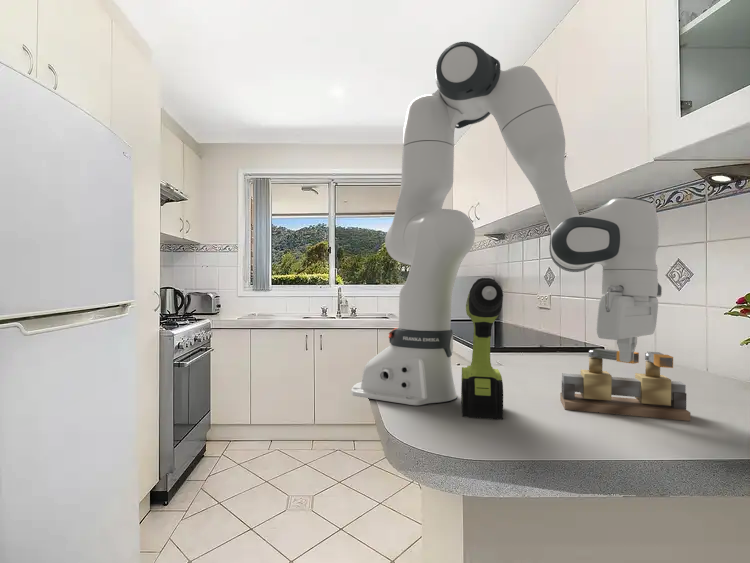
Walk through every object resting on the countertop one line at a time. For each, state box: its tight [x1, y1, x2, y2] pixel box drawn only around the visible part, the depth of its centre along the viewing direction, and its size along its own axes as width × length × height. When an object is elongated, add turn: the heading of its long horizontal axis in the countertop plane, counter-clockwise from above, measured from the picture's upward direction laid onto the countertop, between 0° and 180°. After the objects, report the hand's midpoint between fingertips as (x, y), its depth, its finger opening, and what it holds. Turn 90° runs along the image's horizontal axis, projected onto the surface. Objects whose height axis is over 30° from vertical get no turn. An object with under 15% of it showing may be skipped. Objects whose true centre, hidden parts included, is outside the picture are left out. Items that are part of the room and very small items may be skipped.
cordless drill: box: [460, 277, 504, 420], centre depth 81 cm, size 23×7×25 cm, turn 170°
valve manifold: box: [559, 357, 691, 422], centre depth 88 cm, size 21×8×10 cm, turn 73°
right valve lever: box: [644, 351, 674, 369], centre depth 83 cm, size 9×3×2 cm, turn 163°
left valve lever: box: [588, 347, 640, 365], centre depth 87 cm, size 9×3×2 cm, turn 37°
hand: (626, 361), depth 83 cm, fingers closed
